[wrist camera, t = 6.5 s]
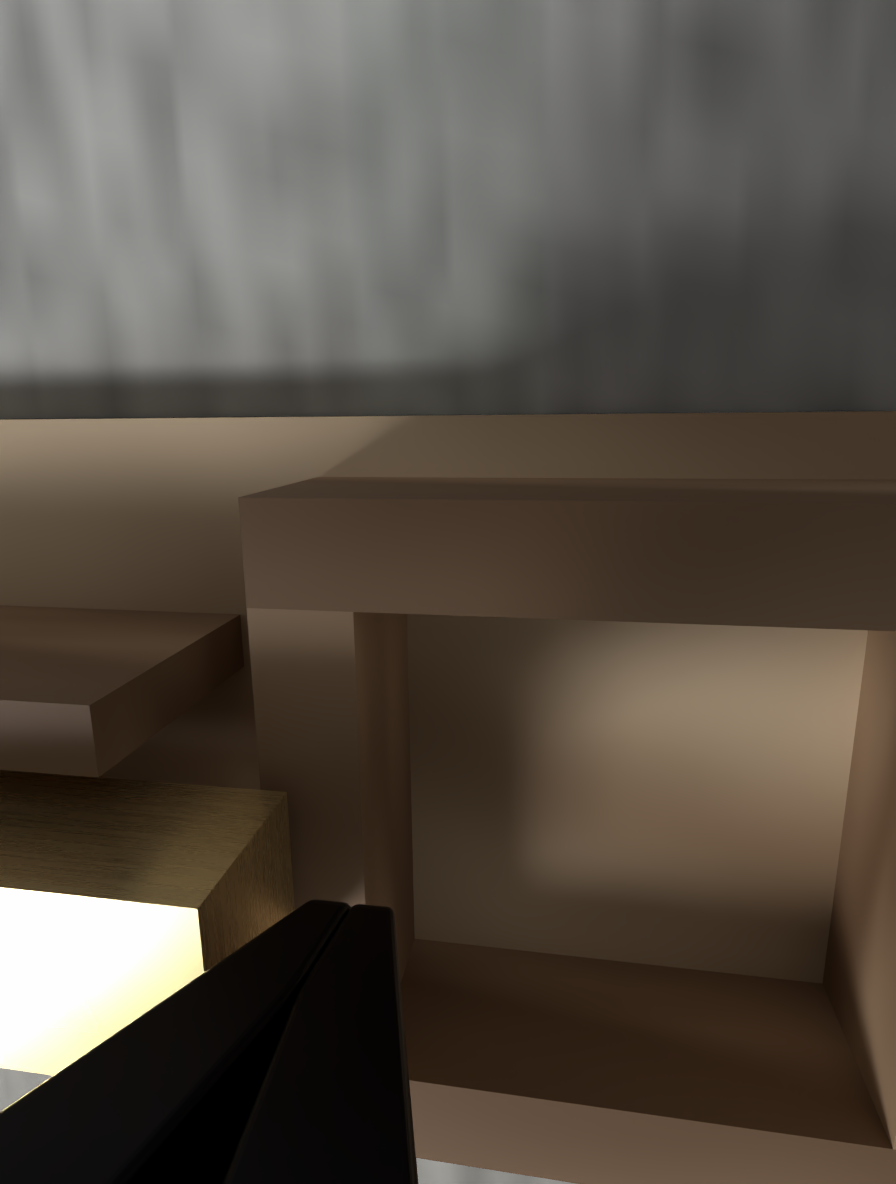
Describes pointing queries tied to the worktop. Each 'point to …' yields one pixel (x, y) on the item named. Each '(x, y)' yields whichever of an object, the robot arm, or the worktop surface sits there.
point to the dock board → (521, 743)
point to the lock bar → (124, 900)
